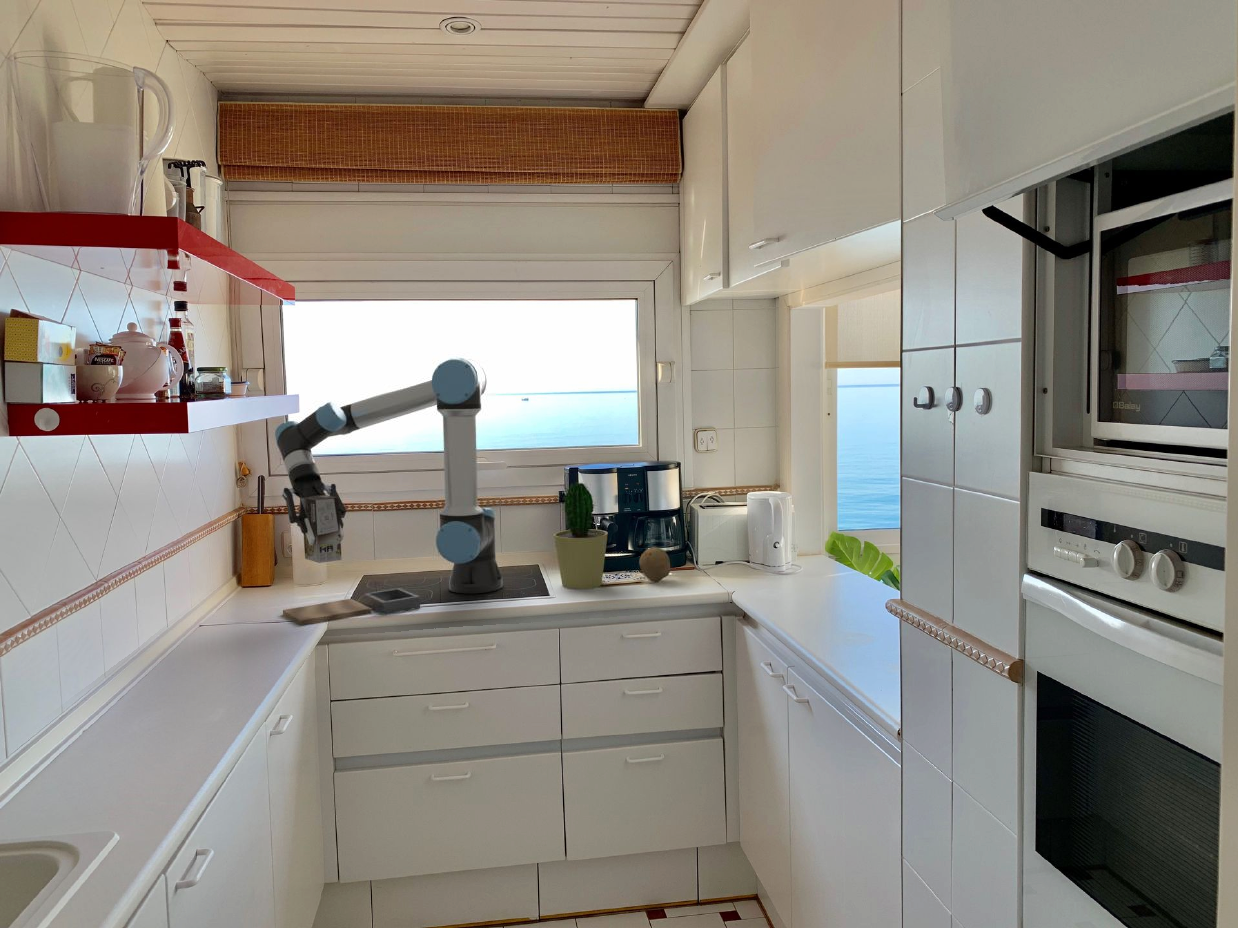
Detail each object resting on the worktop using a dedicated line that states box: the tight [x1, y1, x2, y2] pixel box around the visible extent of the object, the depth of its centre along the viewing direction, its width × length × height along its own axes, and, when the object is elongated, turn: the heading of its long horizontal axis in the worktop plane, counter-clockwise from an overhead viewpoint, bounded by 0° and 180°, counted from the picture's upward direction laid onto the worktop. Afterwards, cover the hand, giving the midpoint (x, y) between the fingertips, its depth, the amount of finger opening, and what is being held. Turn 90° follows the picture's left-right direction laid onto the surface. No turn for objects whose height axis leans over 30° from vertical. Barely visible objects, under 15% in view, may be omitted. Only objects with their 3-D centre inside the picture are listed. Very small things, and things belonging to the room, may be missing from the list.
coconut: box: [638, 546, 671, 583], centre depth 266 cm, size 9×9×10 cm
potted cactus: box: [553, 481, 609, 590], centre depth 263 cm, size 15×15×30 cm
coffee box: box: [301, 494, 343, 564], centre depth 236 cm, size 9×6×16 cm
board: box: [282, 598, 372, 626], centre depth 237 cm, size 18×14×1 cm
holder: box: [363, 587, 421, 615], centre depth 244 cm, size 10×13×3 cm
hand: (327, 540), depth 233 cm, fingers closed on coffee box, 7 cm apart
